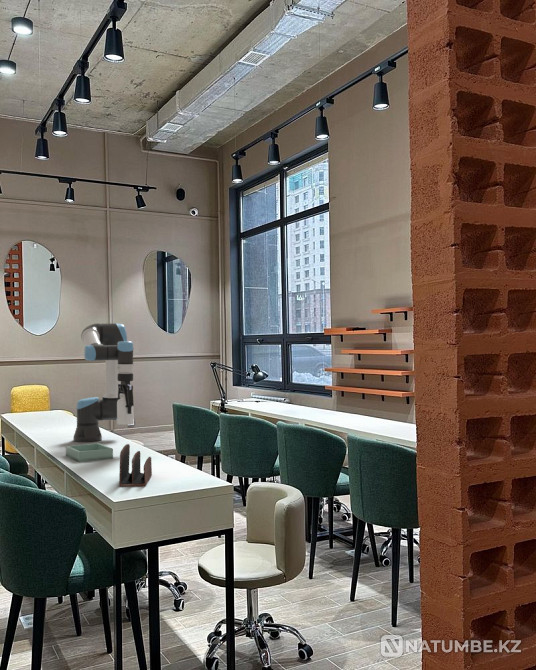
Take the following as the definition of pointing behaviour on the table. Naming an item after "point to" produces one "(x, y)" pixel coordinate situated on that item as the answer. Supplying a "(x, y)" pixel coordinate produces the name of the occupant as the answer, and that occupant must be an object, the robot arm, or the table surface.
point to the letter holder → (133, 469)
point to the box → (89, 452)
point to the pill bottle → (123, 411)
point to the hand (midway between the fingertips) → (125, 419)
